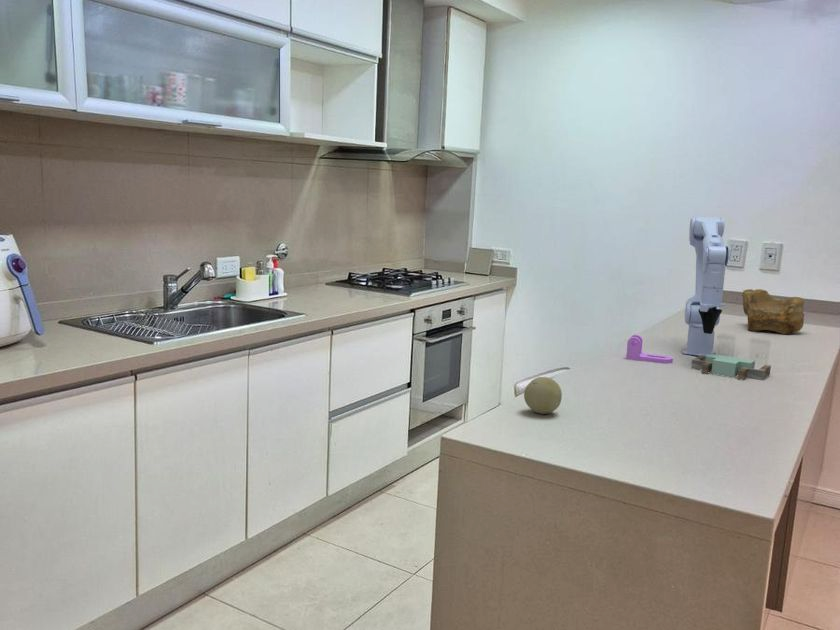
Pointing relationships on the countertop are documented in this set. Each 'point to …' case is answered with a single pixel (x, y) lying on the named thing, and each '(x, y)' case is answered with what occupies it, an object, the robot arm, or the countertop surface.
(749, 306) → the rough brown rock
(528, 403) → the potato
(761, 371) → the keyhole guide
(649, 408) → the countertop surface
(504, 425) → the countertop surface
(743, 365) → the t slider
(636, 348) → the bracket
